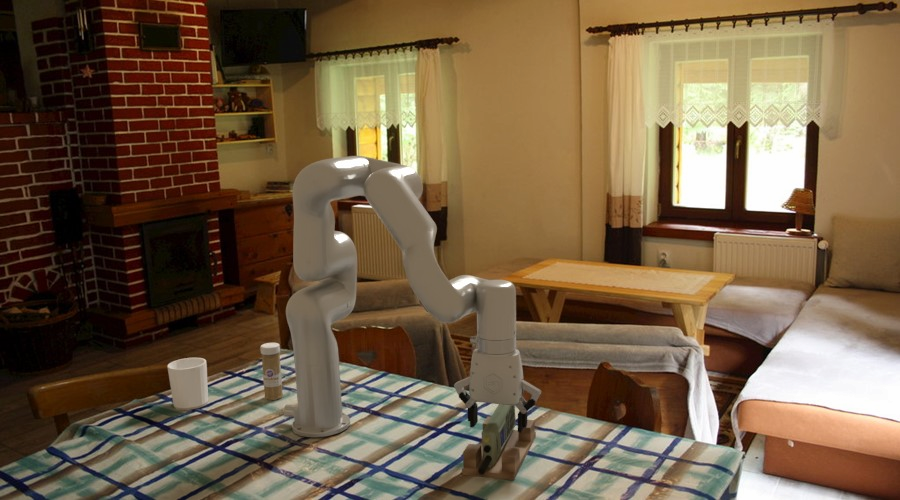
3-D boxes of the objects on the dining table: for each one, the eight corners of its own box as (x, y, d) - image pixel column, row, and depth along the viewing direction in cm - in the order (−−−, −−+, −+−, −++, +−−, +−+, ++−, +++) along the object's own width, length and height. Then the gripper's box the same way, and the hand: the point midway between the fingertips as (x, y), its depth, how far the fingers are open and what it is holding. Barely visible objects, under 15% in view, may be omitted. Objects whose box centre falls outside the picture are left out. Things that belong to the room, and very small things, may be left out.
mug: (218, 401, 191) (214, 360, 189) (188, 413, 183) (184, 371, 182) (188, 393, 197) (184, 354, 195) (158, 405, 189) (153, 364, 187)
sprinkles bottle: (264, 401, 189) (260, 348, 187) (264, 395, 193) (260, 343, 191) (283, 399, 190) (279, 346, 188) (283, 393, 194) (279, 341, 192)
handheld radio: (518, 425, 166) (490, 478, 143) (503, 425, 167) (473, 477, 144) (516, 395, 165) (488, 444, 142) (501, 395, 166) (470, 443, 143)
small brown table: (462, 474, 147) (461, 454, 146) (489, 432, 166) (488, 414, 165) (513, 480, 144) (513, 459, 143) (535, 436, 163) (535, 418, 162)
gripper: (448, 346, 150) (449, 430, 153) (536, 353, 145) (536, 440, 148) (459, 335, 157) (461, 415, 160) (544, 341, 152) (544, 424, 155)
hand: (497, 427), depth 154 cm, fingers open, 9 cm apart
